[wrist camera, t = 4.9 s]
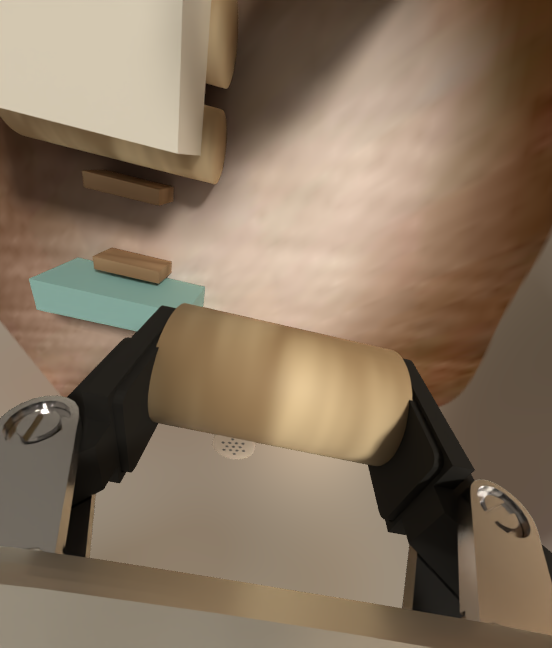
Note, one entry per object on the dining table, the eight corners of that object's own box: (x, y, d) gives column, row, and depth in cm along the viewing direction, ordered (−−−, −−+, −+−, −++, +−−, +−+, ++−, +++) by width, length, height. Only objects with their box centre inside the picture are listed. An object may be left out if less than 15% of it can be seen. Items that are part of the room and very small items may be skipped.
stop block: (78, 257, 23) (28, 278, 19) (205, 286, 24) (185, 313, 20) (82, 284, 25) (37, 309, 20) (202, 311, 25) (183, 341, 21)
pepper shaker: (225, 368, 29) (198, 450, 20) (243, 342, 27) (219, 420, 19) (259, 384, 30) (245, 469, 21) (277, 360, 28) (270, 442, 19)
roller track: (-10, -238, 12) (-134, -401, 8) (258, -149, 13) (244, -266, 9) (70, 249, 23) (31, 264, 20) (211, 282, 24) (197, 302, 20)
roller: (189, 366, 11) (146, 448, 8) (195, 284, 9) (143, 349, 6) (349, 400, 12) (369, 491, 9) (386, 328, 10) (431, 411, 7)
